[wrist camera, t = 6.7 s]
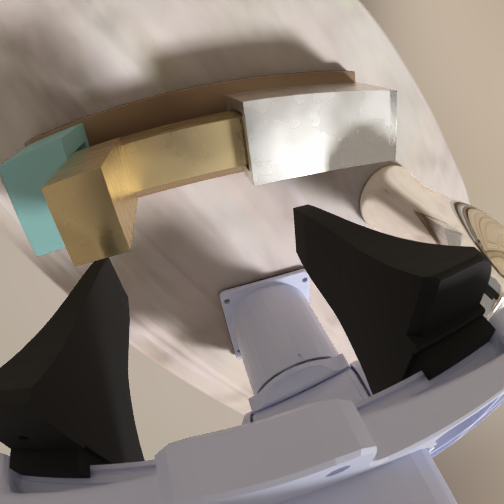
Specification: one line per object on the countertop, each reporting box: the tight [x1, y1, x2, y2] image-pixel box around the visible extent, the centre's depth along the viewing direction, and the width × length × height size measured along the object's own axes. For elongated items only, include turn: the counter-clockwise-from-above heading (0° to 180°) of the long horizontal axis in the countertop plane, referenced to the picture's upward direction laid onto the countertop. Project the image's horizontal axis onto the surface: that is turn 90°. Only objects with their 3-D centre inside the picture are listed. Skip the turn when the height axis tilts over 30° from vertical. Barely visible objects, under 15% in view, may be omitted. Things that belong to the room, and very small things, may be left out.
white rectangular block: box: [225, 82, 397, 186], centre depth 17 cm, size 4×9×4 cm, turn 97°
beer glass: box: [360, 165, 504, 320], centre depth 19 cm, size 7×7×15 cm
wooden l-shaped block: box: [41, 110, 249, 266], centre depth 14 cm, size 4×13×8 cm, turn 97°
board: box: [25, 71, 355, 198], centre depth 18 cm, size 6×22×1 cm, turn 97°
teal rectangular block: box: [0, 123, 90, 257], centre depth 15 cm, size 6×4×4 cm
